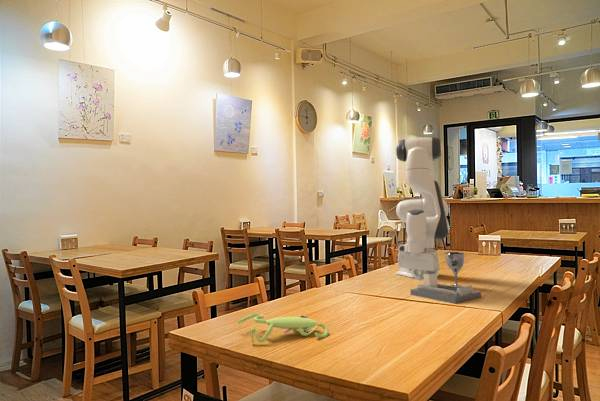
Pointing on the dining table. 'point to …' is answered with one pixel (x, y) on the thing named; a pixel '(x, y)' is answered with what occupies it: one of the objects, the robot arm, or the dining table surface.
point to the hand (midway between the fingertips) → (418, 279)
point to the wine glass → (455, 263)
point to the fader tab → (430, 279)
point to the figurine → (285, 325)
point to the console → (446, 293)
